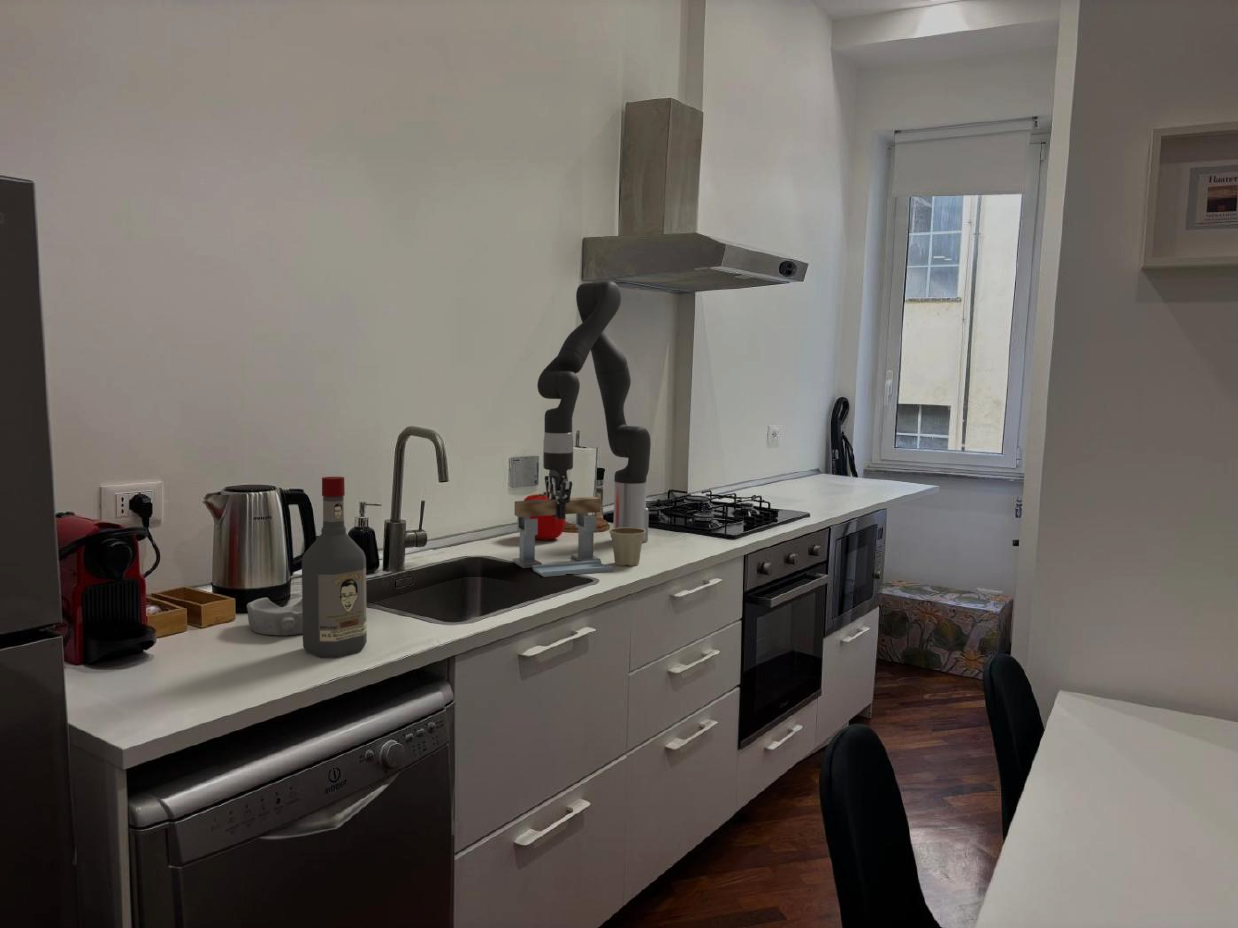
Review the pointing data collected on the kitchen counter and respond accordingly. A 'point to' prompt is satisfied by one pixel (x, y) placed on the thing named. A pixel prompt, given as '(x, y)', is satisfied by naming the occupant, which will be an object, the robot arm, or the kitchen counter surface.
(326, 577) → the liquor
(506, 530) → the kitchen counter surface
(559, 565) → the mat
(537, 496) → the tomato
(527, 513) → the rail
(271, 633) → the dish
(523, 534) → the rack
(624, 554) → the flower pot
